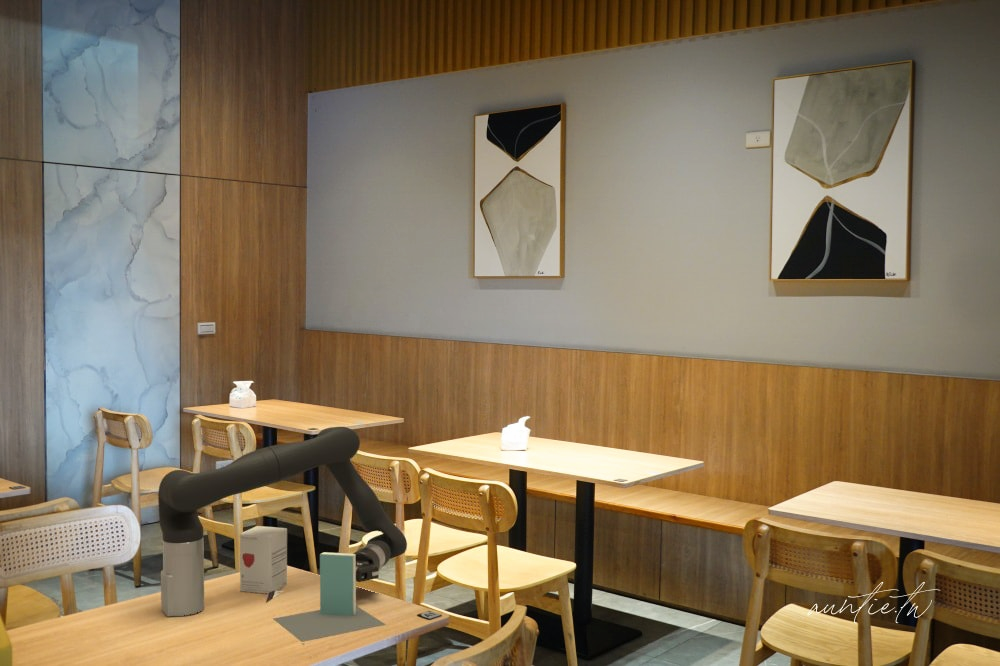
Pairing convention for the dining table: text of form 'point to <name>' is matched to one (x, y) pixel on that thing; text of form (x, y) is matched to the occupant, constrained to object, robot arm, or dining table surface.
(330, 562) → the tile
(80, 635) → the dining table surface
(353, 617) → the mat
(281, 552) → the supplement box
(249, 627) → the dining table surface
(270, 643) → the dining table surface
